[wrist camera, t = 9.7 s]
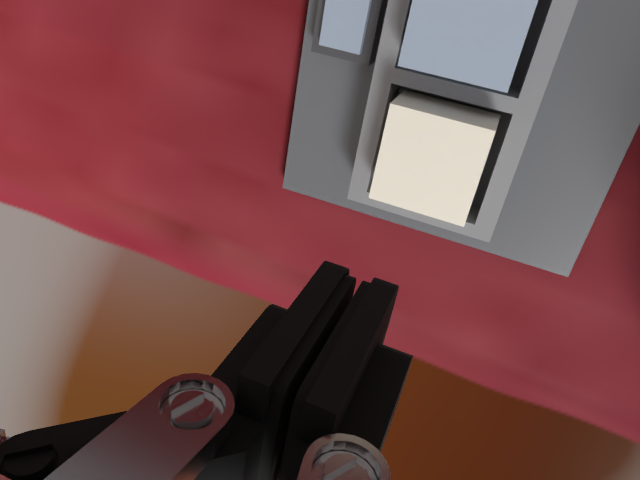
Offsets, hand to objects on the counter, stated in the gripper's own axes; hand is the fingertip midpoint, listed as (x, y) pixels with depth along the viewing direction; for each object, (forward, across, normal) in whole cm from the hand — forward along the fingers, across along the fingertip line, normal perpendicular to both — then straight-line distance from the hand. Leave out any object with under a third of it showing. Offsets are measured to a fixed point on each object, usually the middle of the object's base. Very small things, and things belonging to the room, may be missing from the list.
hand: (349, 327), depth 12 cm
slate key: (+14, 0, -5) cm, 15 cm away
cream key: (+14, 0, 0) cm, 14 cm away
